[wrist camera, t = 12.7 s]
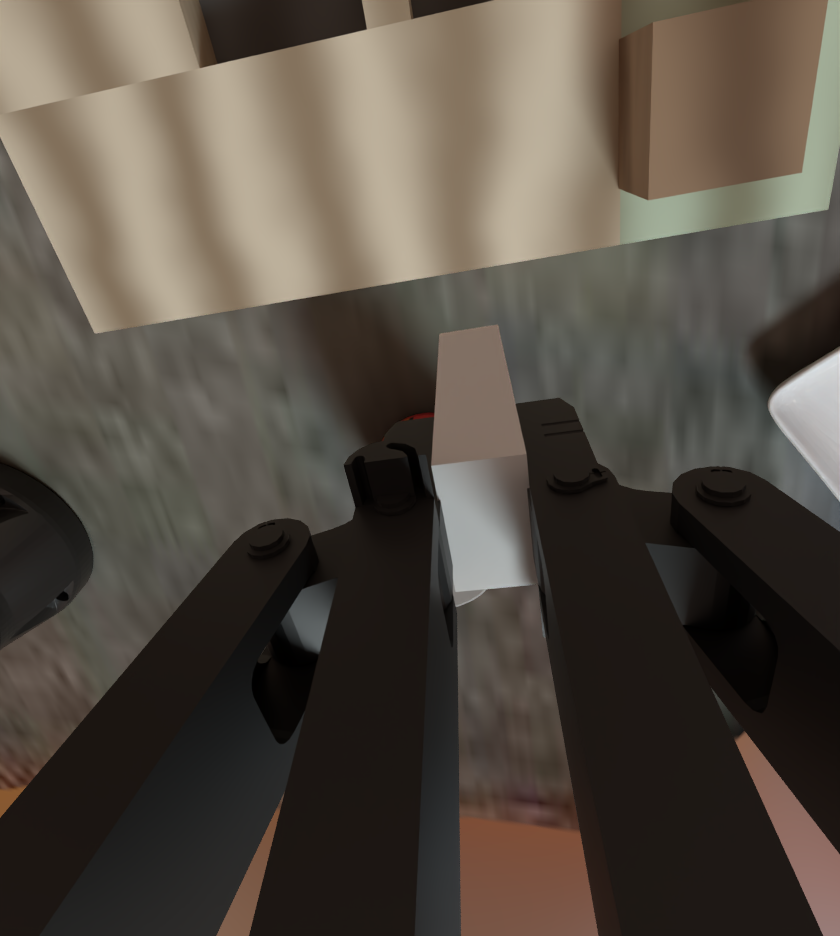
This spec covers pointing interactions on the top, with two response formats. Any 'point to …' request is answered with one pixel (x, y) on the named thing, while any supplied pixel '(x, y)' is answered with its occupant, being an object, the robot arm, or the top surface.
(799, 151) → the walnut block
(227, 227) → the trap deck
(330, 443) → the top surface
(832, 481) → the salad plate
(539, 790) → the top surface
